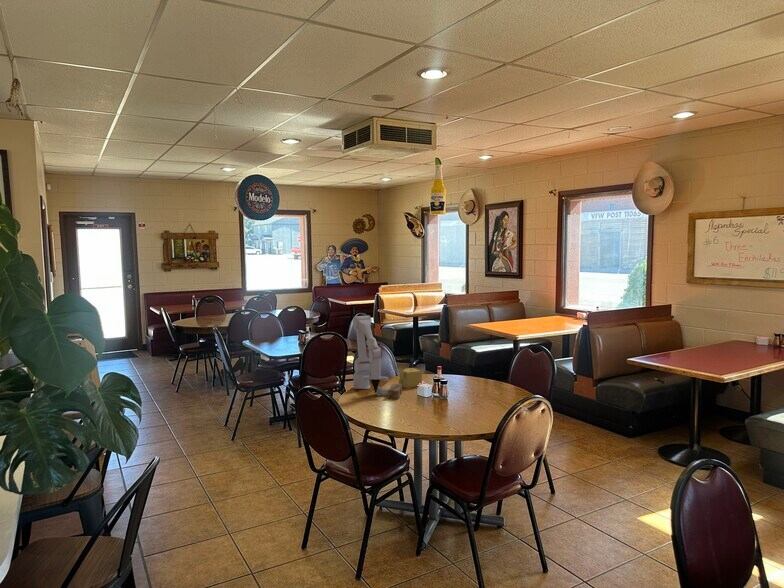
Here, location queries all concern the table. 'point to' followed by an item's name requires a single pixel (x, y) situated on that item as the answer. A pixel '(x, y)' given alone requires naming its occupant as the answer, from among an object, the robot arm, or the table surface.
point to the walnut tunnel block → (395, 391)
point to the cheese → (410, 377)
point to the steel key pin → (382, 391)
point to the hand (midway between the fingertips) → (375, 392)
